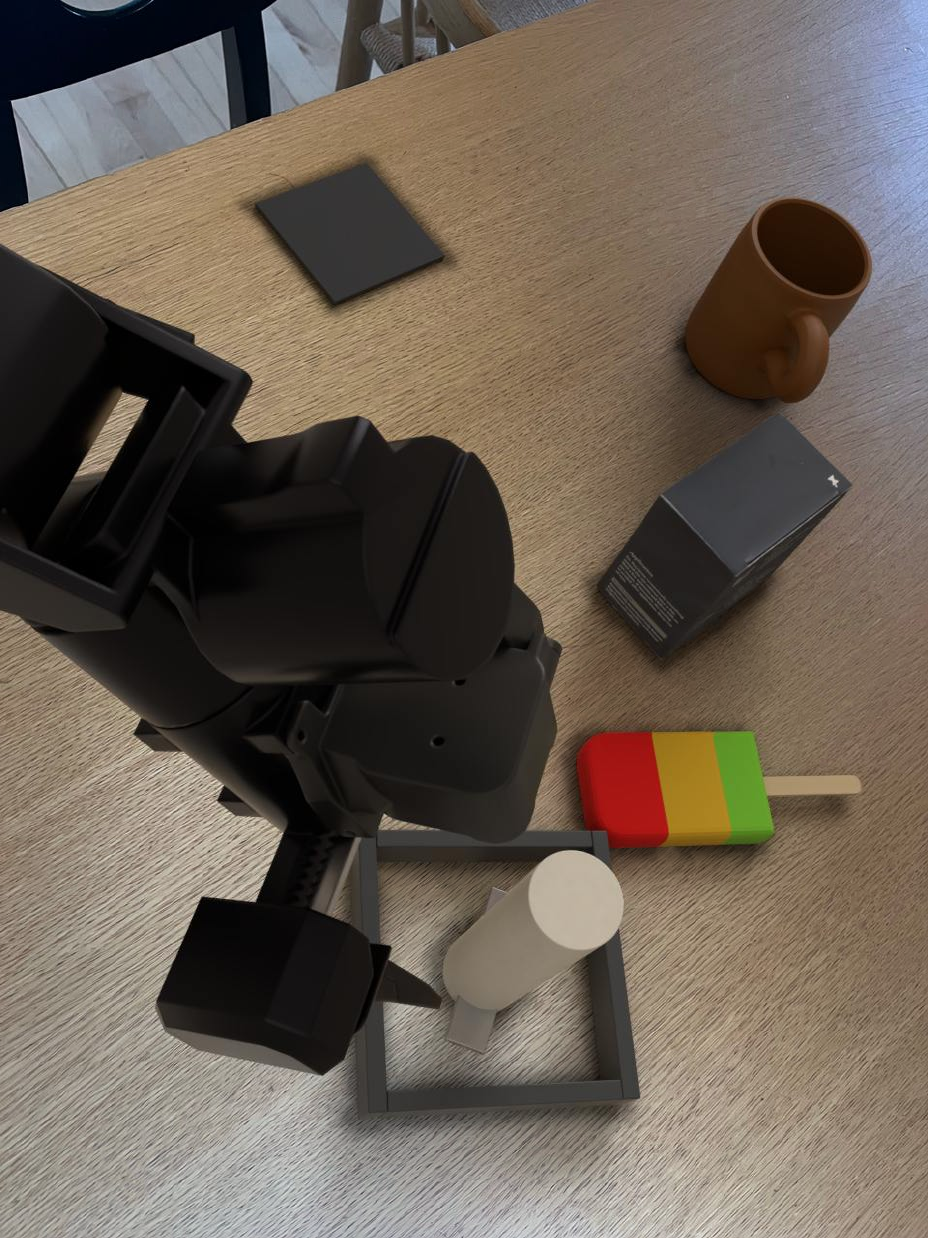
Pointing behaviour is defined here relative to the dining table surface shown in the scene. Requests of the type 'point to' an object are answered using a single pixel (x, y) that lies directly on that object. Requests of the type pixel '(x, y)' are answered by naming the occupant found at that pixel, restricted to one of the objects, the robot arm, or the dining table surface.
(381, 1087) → the grey picture frame
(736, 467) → the box
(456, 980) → the white tall round cylinder
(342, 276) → the rubber mat
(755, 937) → the dining table surface
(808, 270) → the mug
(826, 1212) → the dining table surface
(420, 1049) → the dining table surface
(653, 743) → the popsicle
